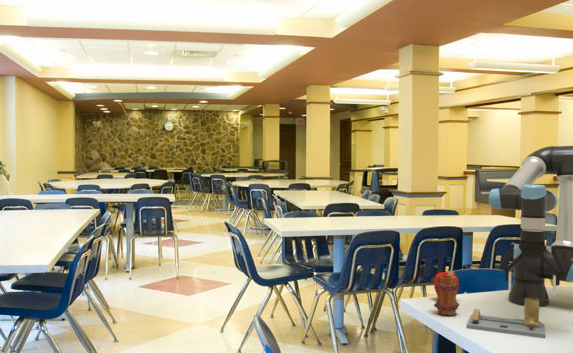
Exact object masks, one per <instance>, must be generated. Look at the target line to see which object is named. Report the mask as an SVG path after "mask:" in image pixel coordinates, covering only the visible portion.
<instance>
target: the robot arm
mask: <svg viewBox="0 0 573 353" xmlns="http://www.w3.org/2000/svg"><path fill="white" fill-rule="evenodd" d="M520 166H521V167H519V169H518V170H517V171H516V172H515V173H514V174H513V175H512V176H511V178H510V179H509V180H508V181H507V182H506V183H505V185H503V186H502V187H501V188H500V187H499V188H492V189H491V190H490V191H489V194H488V203H489V204H488V205H489V206H490V208H492V209H495V210H496V209H497V210H507V211H508V210H509V211H520V229H521V230H520V237H519V238H520V243H519V244H518V243H514V242H511V243H510V246H509V250H508V251H507V253H506V255H505V257H504V259H503V260H502V262H501V264H500V265H499V269H500V270H502V271H504V280H505V282H508V290H507V291H508V301H509V303H513V304H515V305H516V304H517V305H520V306H525V297H526V298H536V299H539V307H546V306H549V305H550V298H549V294H548V292H547V288H546V285H545V282H546V281H545V280H546V279H547V280H551V281H552V296H553V297H556V291H557V290H556V289H557V288H556V287H557V286H558V287H560V283H561V282H566V283H573V145H557V146H555V145H554V146H553V145H552V146H551V145H550V146H545V147H541V148H538V149H537V150H535V151H533V152H531V153H530V154H528V155H527V156H526V157H525V158H524V159H523V160H522V162H521V165H520ZM545 175H556V179H557V180H558V182H559V196H558V197H557V194H555V192H553V191H551V190H549V189H546V186H545V185H544V184H534V183H535V182H536V180H537V179H539V178H542V177H543V176H545ZM557 206H558V207H557ZM556 207H557V217H556V218H557V219H556V220H557V221H556V229H555V230H556V231H555V233H556V234H555V241H554V242H553V243H552V244H550V245H546V232H545V231H544V230H546V213H547V212H550V211H552V210H554V209H555V208H556ZM512 254H513V257H512V259H513V260H512V261H511V262H510V263H509V264H508V265H507V266H506V264H507V263H508V261H509V259H510V257H511V256H512ZM512 269H513V273H512ZM512 274H513V275H512ZM512 277H513V278H512ZM512 279H513V282H512Z"/></svg>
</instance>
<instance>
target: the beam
mask: <svg viewBox="0 0 573 353" xmlns="http://www.w3.org/2000/svg"><path fill="white" fill-rule="evenodd" d="M471 315H472V319H473V320H474V323H477V320H478V319H479V318H480V319H489V320H497V321H506V322H514V323H522V324H524V319H521V318H520V319H519V318H511V317H503V316H494V315H493V316H492V315H488V314H487V315H485V314H481V310H480V309H477V308H474V309H473V311H472V313H471ZM541 323H542V321H539V327H541Z"/></svg>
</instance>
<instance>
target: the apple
mask: <svg viewBox="0 0 573 353" xmlns="http://www.w3.org/2000/svg"><path fill="white" fill-rule="evenodd" d="M447 274H448V271H445V272H443V271H442V272H438V273H437V274H436V275H435V277H434V280H433V281H434V282H433V285H434V286H433V287H434V288H433V289H434V291H435V293H436V295H437V296H438V288H436V287H435V285H436V284H437V282H438V276H439V275H440V276H441V275H447ZM456 283H457V284H458V285H459V286H458V288H457V289H456V296H457V294H458V292H459V289H460V288H459V287H460V284H459V278H458V277H457V275H456Z"/></svg>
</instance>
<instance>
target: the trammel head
mask: <svg viewBox="0 0 573 353" xmlns="http://www.w3.org/2000/svg"><path fill="white" fill-rule="evenodd" d="M523 312H524V318H523V320H524V325H527V326H530V329H533V326H535V327H539V322H540V306H539V299H536V298H526V297H525V305H524V311H523Z"/></svg>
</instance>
